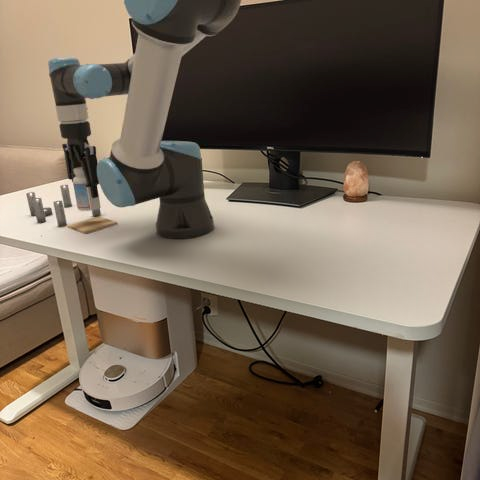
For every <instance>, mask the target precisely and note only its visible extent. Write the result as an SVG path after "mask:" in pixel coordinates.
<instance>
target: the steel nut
mask: <svg viewBox="0 0 480 480" xmlns="http://www.w3.org/2000/svg"><path fill="white" fill-rule="evenodd" d="M43 209H44V213H45V218H48V217H51V216H53V209H52V207H43Z"/></svg>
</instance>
